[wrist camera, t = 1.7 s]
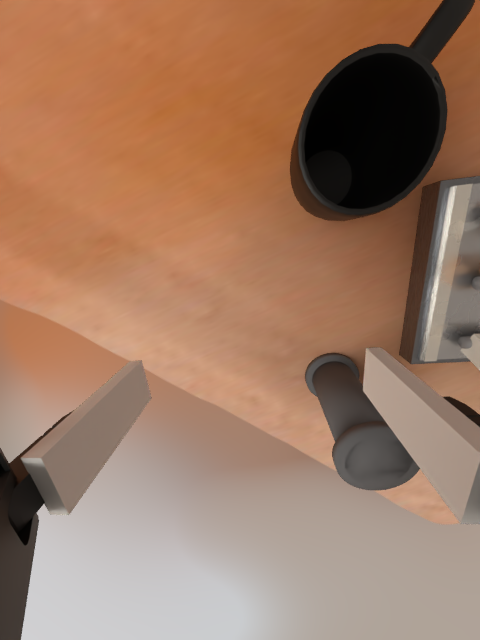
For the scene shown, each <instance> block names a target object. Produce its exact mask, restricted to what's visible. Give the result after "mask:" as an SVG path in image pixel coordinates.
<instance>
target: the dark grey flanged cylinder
mask: <svg viewBox="0 0 480 640" xmlns="http://www.w3.org/2000/svg"><path fill="white" fill-rule="evenodd" d="M305 379H306V383H307V386H308V388H309V390H310V391H311V392H312V393H313V394H314V395H315V396H317V397H318V399H319V401H320V404H321V406H322V409H323V412H324V414H325V417H326V419H327V422H328V425H329V427H330V430H331V432H332V435H333V437H334V440H335V444H334V446H333V451H332V457H333V461H334V464H335V467H336V470H337V472H338V474H339V475H340V477H341V478H342V479H343V480H344V481H346V482H347V483H349V484H350V485H352V486H354V487H357V488H361V489H365V490H386V489H390V488H394V487H397V486H399V485H401V484H403V483H405V482H407V481H408V480H410V479H411V478H412V477H413V476H414V475H415V474H416V473H417V472H418V470H419V469H420V468H419V466H418V465H417V464H416V462H415V461H414V460H413V458H412V457H411V456H410V454H409V453H408V452H407V450H406V449H405V447H404V446H403V445H402V443H401V442H400V441H399V439H398V438H397V437H396V435H395V434H394V432H393V431H392V430H391V428H390V427H389V426H388V424H387V423H386V422H385V420H384V419H383V417H382V416H381V415H380V413H379V412H378V411H377V409H376V408H375V407H374V405H373V404H372V402H371V401H370V400H369V398H368V397H367V396H366V394H365V393H364V392H363V385H362V384H361V382H360V381H359V371H358V369H357V367H356V365H355V364H354V363H353V362H352V361H351V360H350V359H349V358H348V357H346V356H344V355H342V354H338V353H328V354H324V355H321V356H319V357H317V358H315V359H314V360H313V361H312V362H311V363H310V364H309V366H308V367H307V370H306V373H305Z"/></svg>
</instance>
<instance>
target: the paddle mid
mask: <svg viewBox="0 0 480 640" xmlns="http://www.w3.org/2000/svg"><path fill="white" fill-rule="evenodd" d="M471 284H472V287H473V288H474V289H475V290H480V277H475V278H474V279H473V280H472V283H471Z"/></svg>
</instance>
